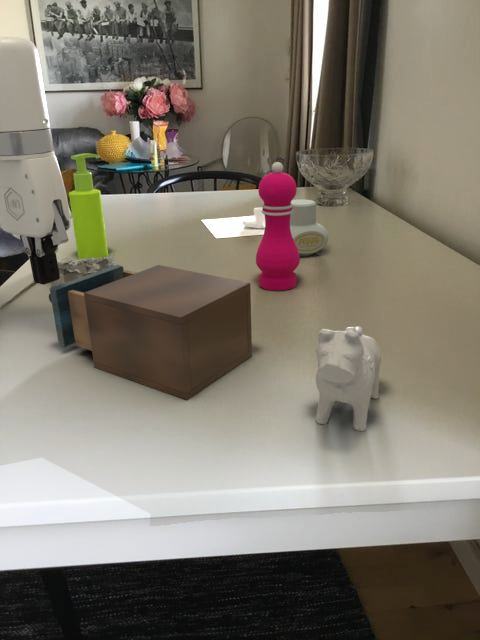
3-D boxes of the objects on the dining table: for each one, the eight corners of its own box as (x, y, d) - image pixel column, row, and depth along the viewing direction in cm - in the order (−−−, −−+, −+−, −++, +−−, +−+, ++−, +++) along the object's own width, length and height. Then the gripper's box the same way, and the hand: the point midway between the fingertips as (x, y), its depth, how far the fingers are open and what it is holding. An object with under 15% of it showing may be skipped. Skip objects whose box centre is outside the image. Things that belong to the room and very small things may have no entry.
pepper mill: (293, 276, 99) (294, 158, 91) (304, 290, 92) (306, 163, 85) (252, 279, 98) (250, 160, 90) (261, 293, 91) (259, 166, 83)
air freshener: (316, 244, 118) (317, 196, 114) (334, 254, 111) (336, 203, 107) (267, 250, 115) (266, 200, 111) (282, 260, 108) (282, 208, 104)
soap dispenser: (118, 255, 114) (106, 153, 107) (88, 263, 110) (74, 157, 102) (102, 250, 118) (89, 151, 110) (72, 258, 113) (57, 155, 106)
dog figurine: (301, 444, 53) (303, 340, 49) (334, 380, 64) (337, 291, 60) (358, 455, 51) (365, 348, 47) (382, 388, 62) (388, 297, 58)
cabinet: (94, 367, 68) (83, 292, 65) (164, 331, 78) (158, 264, 74) (186, 400, 61) (180, 317, 57) (252, 356, 70) (250, 282, 66)
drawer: (37, 338, 75) (27, 282, 72) (102, 311, 83) (95, 260, 80) (134, 371, 65) (127, 308, 62) (196, 336, 74) (193, 280, 71)
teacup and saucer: (245, 231, 130) (245, 213, 129) (237, 223, 138) (237, 207, 136) (281, 228, 132) (281, 210, 131) (272, 221, 139) (272, 204, 138)
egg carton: (49, 289, 96) (45, 266, 94) (59, 276, 103) (55, 254, 101) (112, 286, 96) (109, 263, 95) (118, 273, 103) (115, 251, 102)
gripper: (-38, 147, 74) (-8, 281, 81) (34, 149, 66) (60, 298, 73) (12, 141, 79) (36, 267, 86) (84, 143, 71) (104, 281, 78)
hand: (47, 281), depth 79 cm, fingers closed
